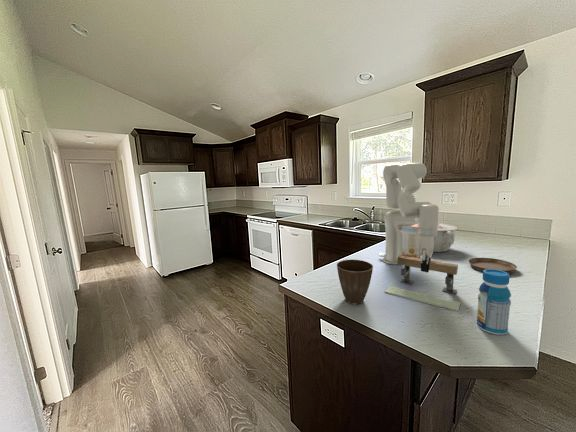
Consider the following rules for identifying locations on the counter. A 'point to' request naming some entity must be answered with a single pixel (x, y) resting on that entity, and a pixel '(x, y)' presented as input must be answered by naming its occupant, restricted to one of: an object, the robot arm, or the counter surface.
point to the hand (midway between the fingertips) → (425, 269)
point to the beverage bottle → (494, 302)
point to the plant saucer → (492, 264)
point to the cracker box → (410, 241)
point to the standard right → (449, 284)
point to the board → (424, 298)
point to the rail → (433, 265)
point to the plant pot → (354, 279)
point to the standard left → (406, 275)
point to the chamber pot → (443, 237)
